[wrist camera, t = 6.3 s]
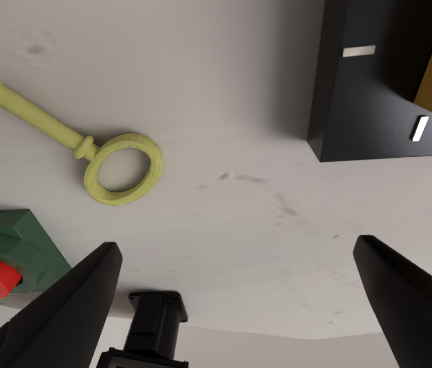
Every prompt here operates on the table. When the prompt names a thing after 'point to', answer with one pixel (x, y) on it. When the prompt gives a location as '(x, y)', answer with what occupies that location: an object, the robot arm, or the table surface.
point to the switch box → (425, 90)
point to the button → (8, 279)
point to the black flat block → (371, 81)
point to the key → (89, 149)
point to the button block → (29, 252)
